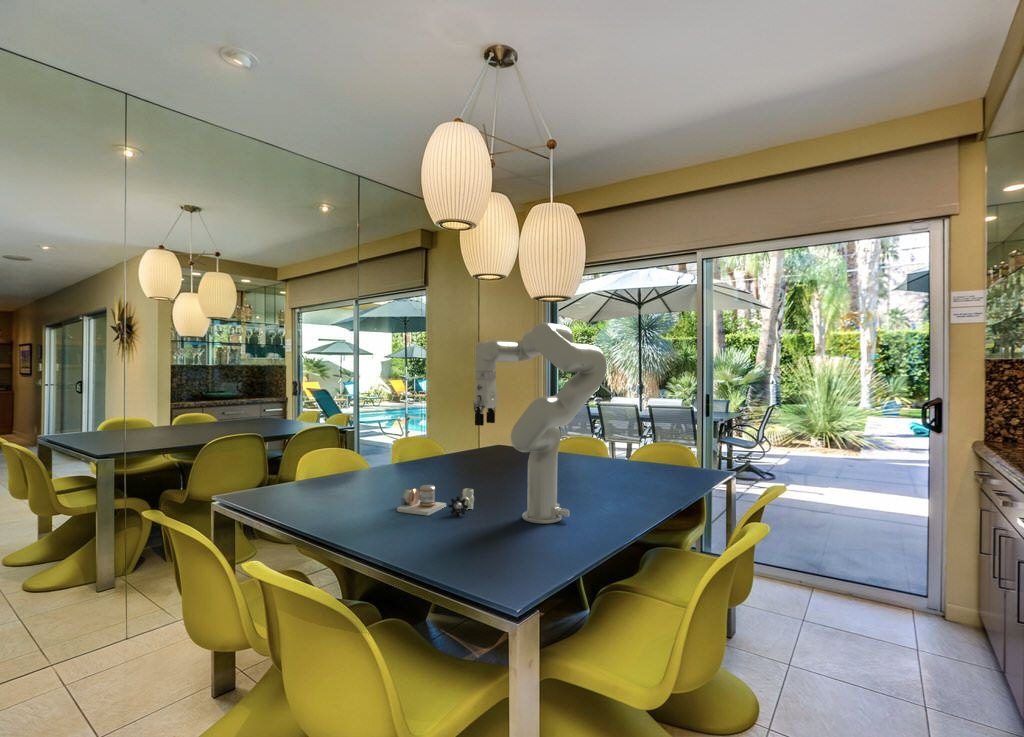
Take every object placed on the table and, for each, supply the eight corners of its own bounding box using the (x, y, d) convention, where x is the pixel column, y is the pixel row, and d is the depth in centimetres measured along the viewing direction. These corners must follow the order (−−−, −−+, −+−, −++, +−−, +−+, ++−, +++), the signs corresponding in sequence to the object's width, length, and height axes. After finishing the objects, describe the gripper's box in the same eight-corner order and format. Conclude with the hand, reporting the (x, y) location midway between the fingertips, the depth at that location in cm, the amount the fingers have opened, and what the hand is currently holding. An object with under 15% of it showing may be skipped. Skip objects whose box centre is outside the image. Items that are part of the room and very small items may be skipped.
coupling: (438, 504, 171) (438, 485, 171) (430, 508, 166) (430, 488, 166) (424, 502, 173) (425, 484, 173) (416, 506, 168) (416, 487, 168)
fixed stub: (419, 506, 174) (419, 487, 174) (409, 510, 169) (410, 490, 169) (410, 504, 176) (410, 486, 176) (400, 509, 170) (400, 489, 170)
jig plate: (446, 506, 174) (446, 502, 174) (427, 515, 163) (428, 511, 163) (416, 503, 178) (416, 499, 178) (396, 511, 167) (396, 507, 167)
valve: (461, 506, 175) (448, 515, 163) (461, 487, 175) (448, 495, 163) (479, 508, 173) (467, 517, 161) (479, 488, 173) (467, 497, 161)
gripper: (484, 376, 170) (484, 426, 170) (504, 376, 187) (504, 422, 186) (465, 376, 173) (464, 425, 173) (486, 376, 189) (485, 421, 189)
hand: (485, 424), depth 180 cm, fingers open, 9 cm apart
